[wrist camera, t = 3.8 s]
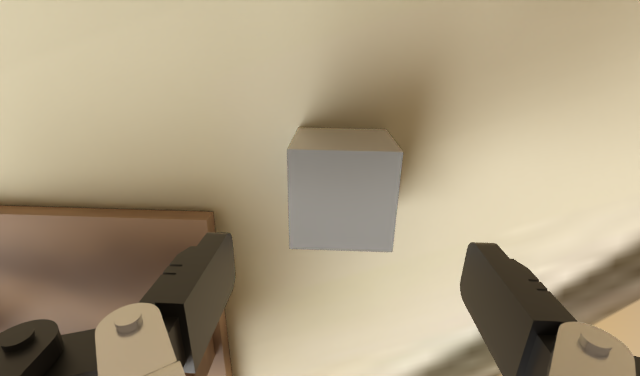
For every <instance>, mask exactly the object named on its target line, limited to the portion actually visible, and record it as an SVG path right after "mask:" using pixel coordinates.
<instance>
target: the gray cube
mask: <svg viewBox="0 0 640 376" xmlns="http://www.w3.org/2000/svg"><path fill="white" fill-rule="evenodd" d="M402 159H403V151H402V150H401V148H400V147H399V146H398V144H397V143H396V142H395V140H394V139H393V137H392V136H391V135H390V133H389V132H388V131H387V129H356V128H309V127H298V129H297V131H296V133H295V135H294V137H293V139H292V141H291V143H290V145H289V147H288V148H287V166H288V209H289V249H310V250H341V251H371V252H392V251H393V241H394V232H395V223H396V214H397V205H398V196H399V187H400V177H401V168H402Z"/></svg>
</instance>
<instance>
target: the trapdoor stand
mask: <svg viewBox="0 0 640 376" xmlns="http://www.w3.org/2000/svg"><path fill="white" fill-rule="evenodd" d="M208 232H215V223H214V215H213V212H206V211H172V210H138V209H104V208H70V207H37V206H3V205H0V333H1V332H3V331H5V330H7V329H9V328H11V327H13V326H16V325H18V324H21V323H24V322H28V321H32V320H38V319H48V320H52V321H54V322H55V323H56V324H57V325H58V328H59V331H60V334H61V335H64V334H69V333H74V332H80V331H85V330H90V329H95V328H97V326H98V324H99V323H100V322H101V321H102V320H103V319H104V318H105V317H106V316H107V315H109V314H110V313H111V312H113V311H115V310H117V309H119V308H121V307H124V306H126V305H130V304H135V303H138V302H139V301H140V300H141V299H142V297H143V296H144V295H145V294H146V293H147V291H148V290H149V289H150V288H151V286H152V285H153V284H154V283H155V281H156V280H157V279H158V278H159V277H160V275H163V272H164V270H165V269H166V268H167V267H168V266H169V265H170V263H171V262H172V261H173V259H174V258H175V257H176V256H177V254H179V253H180V252H182V251H184V250H185V249H187V248H188V247H190V246H197V245H198V244H199V242H200V241H201V240H202V238H203V237H204V236H205V234H206V233H208ZM215 233H216V232H215ZM185 376H232V369H231V361H230V352H229V344H228V335H227V326H226V318H225V309H224V310H223V313H222V315H221V317H220V319H219V322H218V324H217V326H216V328H215V331H214V333H213V335H212V337H211V339H210V342H209V344H208V346H207V348H206V351H205V353H204V355H203V357H202V360H201V362H200V364H199V366H198V369H197V371H196V373H185Z"/></svg>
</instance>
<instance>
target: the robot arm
mask: <svg viewBox="0 0 640 376" xmlns="http://www.w3.org/2000/svg"><path fill="white" fill-rule="evenodd" d="M234 282H235V264H234V253H233V242H232V236H231V234H230V233H215V232H208V233H206V234H205V236H204V237H203V238H202V240H201V241H200V242H199V244H198V245H197V246H190V247H188V248H187V249H185V250H184V251H182V252H180V253H179V254H177V256H176V257H175V258H174V259H173V261H172V262H171V263H170V265H169V266H168V267H167V268H166V269H165V270H164V272H163V275H160V277H159V278H158V279H157V280H156V281H155V283H154V284H153V285H152V286H151V288H150V289H149V290H148V291H147V293H146V294H145V295H144V296H143V297H142V299H141V300H140V301H139V302H138V303H135V304H130V305H126V306H124V307H121V308H119V309H117V310H115V311H113V312H111V313H110V314H109V315H107V316H106V317H105V318H104V319H103V320H102V321H101V322H100V323H99V324H98V326H97V328H95V329H90V330H85V331H80V332H74V333H69V334H64V335H61V334H60V331H59V328H58V325H57V324H56V323H55V322H54V321H52V320H48V319H38V320H32V321H28V322H24V323H21V324H18V325H16V326H13V327H11V328H9V329H7V330H5V331H3V332H1V333H0V376H185V373H196V371H197V369H198V366H199V364H200V362H201V360H202V357H203V355H204V353H205V351H206V348H207V346H208V344H209V342H210V339H211V337H212V335H213V333H214V331H215V328H216V326H217V324H218V322H219V319H220V317H221V315H222V313H223V310H224V308H225V306H226V304H227V301H228V299H229V297H230V295H231V292H232V290H233V287H234ZM460 291H461V296H462V300H463V302H464V304H465V306H466V307H467V309H468V311H469V313H470V315H471V317H472V319H473V321H474V323H475V324H476V326H477V328H478V330H479V332H480V334H481V336H482V338H483V339H484V341H485V343H486V345H487V347H488V349H489V351H490V353H491V355H492V356H493V358H494V360H495V362H496V364H497V366H498V368H499V370H500V371H501V373H502V375H503V376H640V357H636V356H633V354H632V353H631V351H630V350H629V348H627V346H626V345H625V344H624V343H622V342H621V341H620V340H618V339H617V338H616V337H614V336H613V335H611V334H610V333H608V332H606V331H604V330H602V329H600V328H597V327H595V326H592V325H589V324H586V323H581V322H577V320H576V319H575V318H574V317H573V316H572V315H571V314H570V313H569V312H568V311H567V310H566V309H565V307H564V306H563V305H562V304H561V303H560V302H559V301H558V300H557V299H556V298H555V297H554V296H553V295H552V293H551V292H550V291H547V288H546V287H545V286H544V285H543V284H542V283H541V282H539V279H538V278H537V277H536V276H535V275H534V274H533V273H532V272H531V271H530V270H529V269H528V268H527V267H525V266H523V265H522V264H520V263H519V262H517V261H516V260H514V259H509V257H508V256H507V255H506V254H505V253H504V252H503V251H502V249H501V248H500V247H499V246H498V245H497V244H495V243H475V242H472V243H470V244H469V245H468V248H467V252H466V257H465V262H464V267H463V272H462V276H461V282H460Z"/></svg>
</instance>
